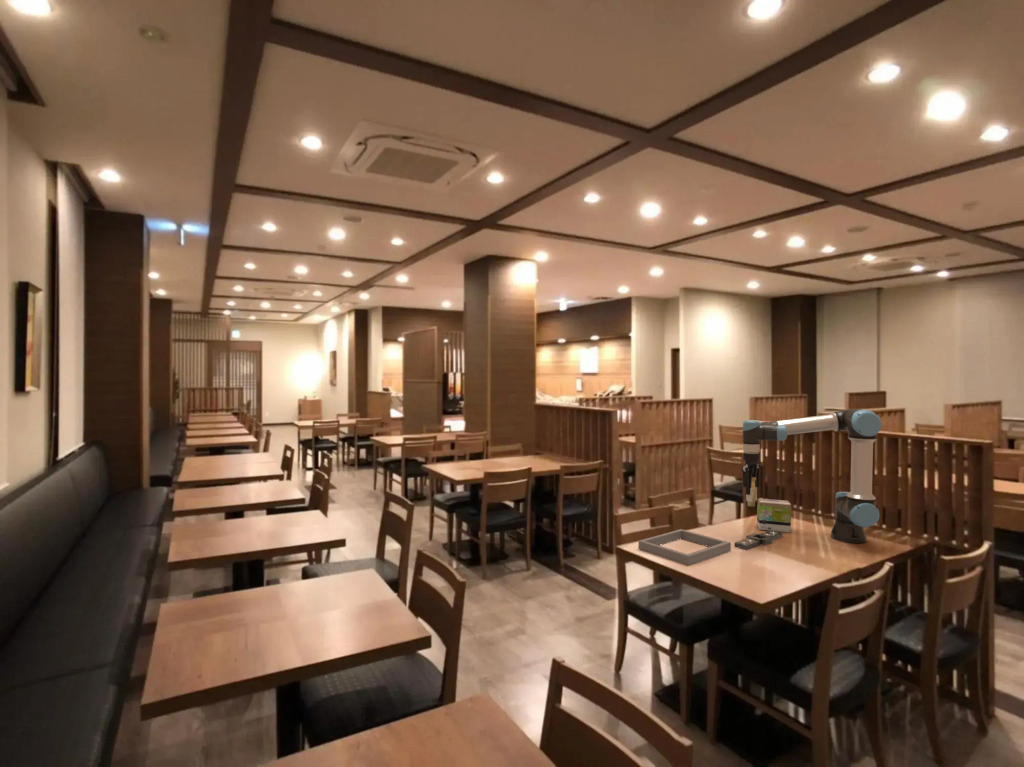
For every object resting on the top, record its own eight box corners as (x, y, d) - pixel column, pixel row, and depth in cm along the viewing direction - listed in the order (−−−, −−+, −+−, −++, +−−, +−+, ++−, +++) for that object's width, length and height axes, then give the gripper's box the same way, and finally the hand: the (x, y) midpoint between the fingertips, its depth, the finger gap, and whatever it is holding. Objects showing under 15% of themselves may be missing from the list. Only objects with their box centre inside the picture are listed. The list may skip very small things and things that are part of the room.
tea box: (759, 530, 291) (759, 502, 291) (756, 525, 301) (757, 497, 301) (791, 533, 287) (791, 504, 287) (787, 527, 297) (788, 499, 296)
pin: (757, 505, 273) (757, 477, 272) (753, 507, 270) (753, 478, 270) (749, 504, 276) (749, 475, 276) (745, 505, 274) (744, 477, 273)
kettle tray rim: (730, 551, 258) (730, 542, 258) (688, 565, 238) (688, 556, 238) (680, 537, 279) (680, 529, 279) (638, 549, 260) (638, 540, 260)
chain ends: (786, 537, 279) (786, 532, 278) (749, 550, 258) (749, 545, 258) (767, 533, 286) (767, 528, 286) (731, 545, 266) (731, 540, 266)
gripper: (753, 450, 281) (753, 496, 281) (734, 453, 271) (735, 501, 271) (767, 451, 275) (767, 499, 275) (749, 455, 265) (749, 504, 265)
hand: (751, 500), depth 273 cm, fingers closed on pin, 3 cm apart
